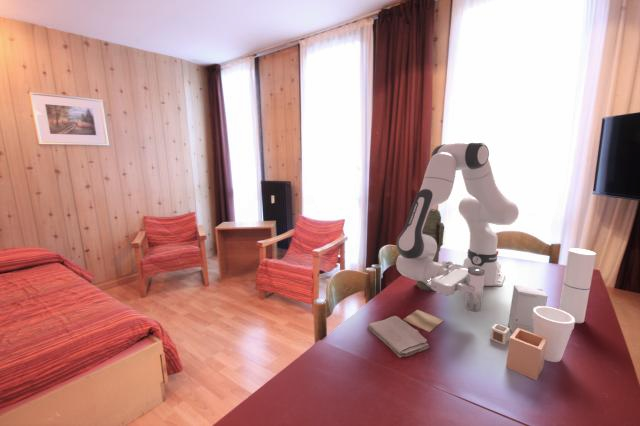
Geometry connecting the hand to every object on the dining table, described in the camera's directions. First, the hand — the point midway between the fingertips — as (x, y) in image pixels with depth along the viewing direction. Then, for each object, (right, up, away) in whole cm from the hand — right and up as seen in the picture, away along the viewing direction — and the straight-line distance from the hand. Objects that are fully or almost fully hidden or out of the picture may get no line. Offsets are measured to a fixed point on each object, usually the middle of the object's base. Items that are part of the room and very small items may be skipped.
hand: (477, 286), depth 97 cm
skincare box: (+16, -15, +1) cm, 22 cm away
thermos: (-4, -9, +35) cm, 36 cm away
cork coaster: (-15, -14, +8) cm, 22 cm away
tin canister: (0, -8, +2) cm, 8 cm away
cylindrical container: (+38, -14, +9) cm, 42 cm away
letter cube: (+5, -16, -3) cm, 17 cm away
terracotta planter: (+5, -18, -16) cm, 25 cm away
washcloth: (-27, -17, -2) cm, 32 cm away
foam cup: (+15, -18, -11) cm, 25 cm away
